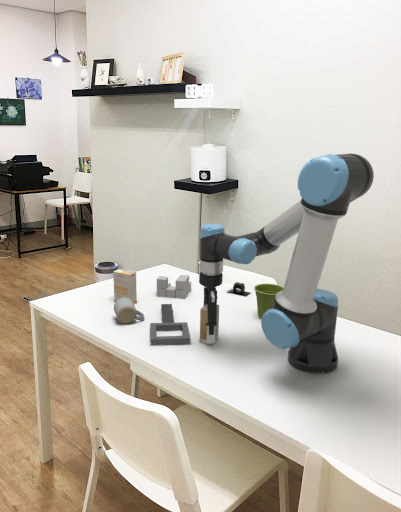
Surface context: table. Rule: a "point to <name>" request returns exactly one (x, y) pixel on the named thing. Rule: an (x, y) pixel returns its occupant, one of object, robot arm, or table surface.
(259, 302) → the plant pot
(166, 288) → the puzzle cube
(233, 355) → the table surface
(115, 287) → the supplement box
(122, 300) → the ceramic mug
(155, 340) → the grey frame stand
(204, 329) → the skincare box
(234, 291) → the black bracket
